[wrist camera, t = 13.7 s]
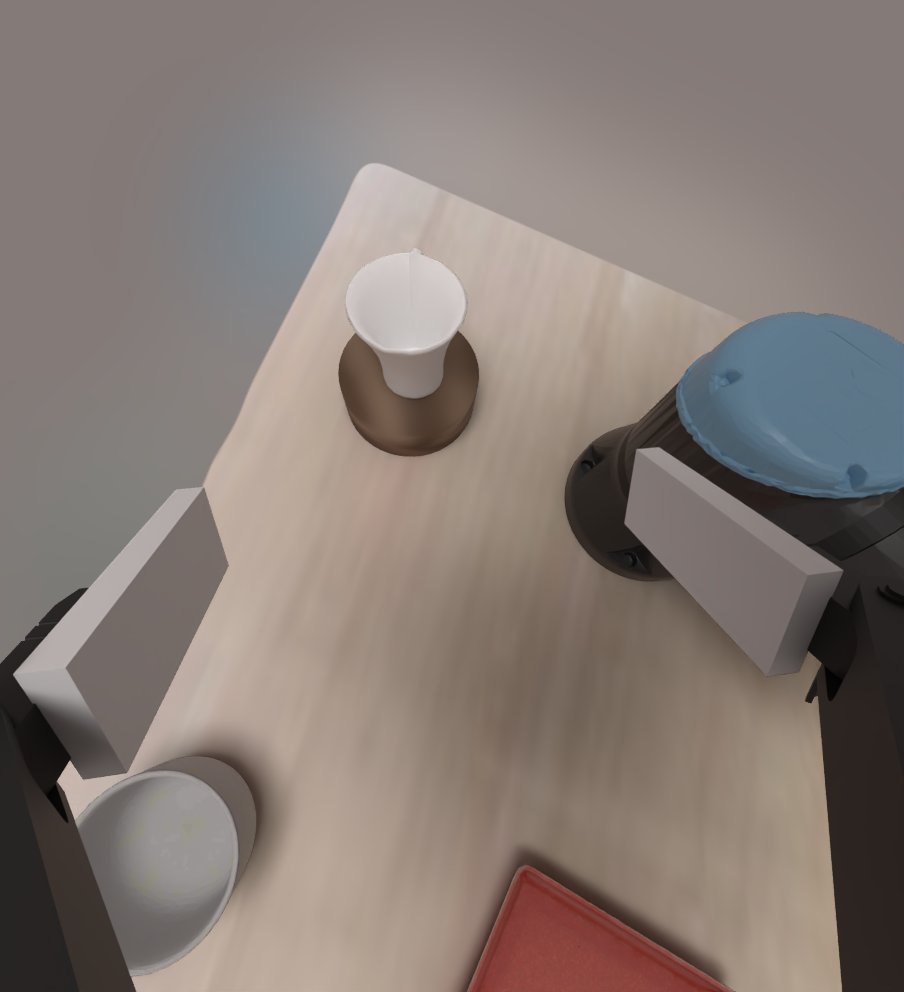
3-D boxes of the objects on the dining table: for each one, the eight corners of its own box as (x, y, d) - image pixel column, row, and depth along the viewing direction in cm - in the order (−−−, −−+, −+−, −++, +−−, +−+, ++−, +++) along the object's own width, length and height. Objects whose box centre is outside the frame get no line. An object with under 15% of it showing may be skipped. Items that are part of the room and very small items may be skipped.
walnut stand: (449, 331, 50) (452, 299, 45) (491, 435, 47) (498, 412, 42) (332, 361, 48) (322, 330, 43) (367, 472, 45) (360, 452, 40)
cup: (465, 339, 44) (478, 257, 35) (447, 425, 41) (455, 362, 32) (375, 321, 44) (362, 233, 35) (350, 406, 41) (329, 336, 32)
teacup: (187, 719, 38) (128, 739, 30) (300, 787, 37) (269, 826, 29) (67, 904, 34) (-37, 983, 26) (191, 986, 33) (121, 1092, 25)
